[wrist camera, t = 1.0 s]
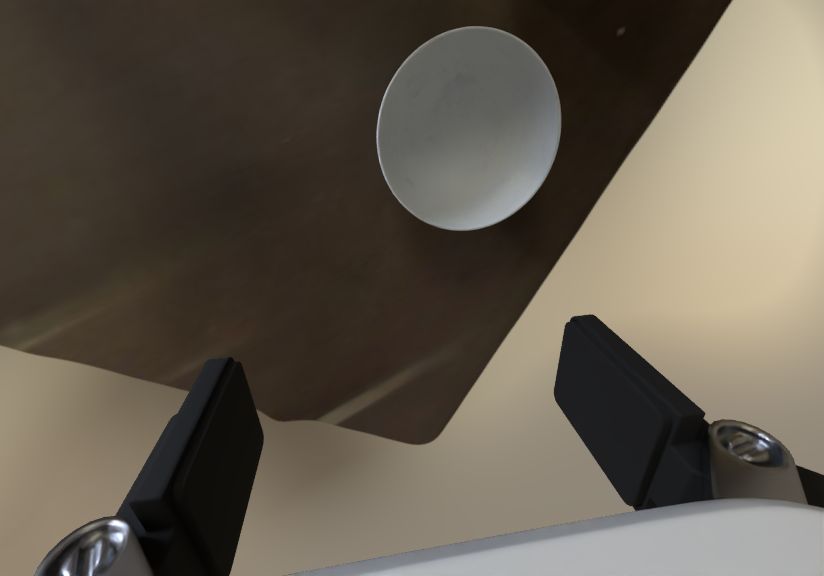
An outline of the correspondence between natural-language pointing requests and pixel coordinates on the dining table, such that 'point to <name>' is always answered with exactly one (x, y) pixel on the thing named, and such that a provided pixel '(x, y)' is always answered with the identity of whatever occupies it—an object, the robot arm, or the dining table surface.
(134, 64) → the dining table surface
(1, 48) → the dining table surface
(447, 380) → the dining table surface
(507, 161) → the chinaware
